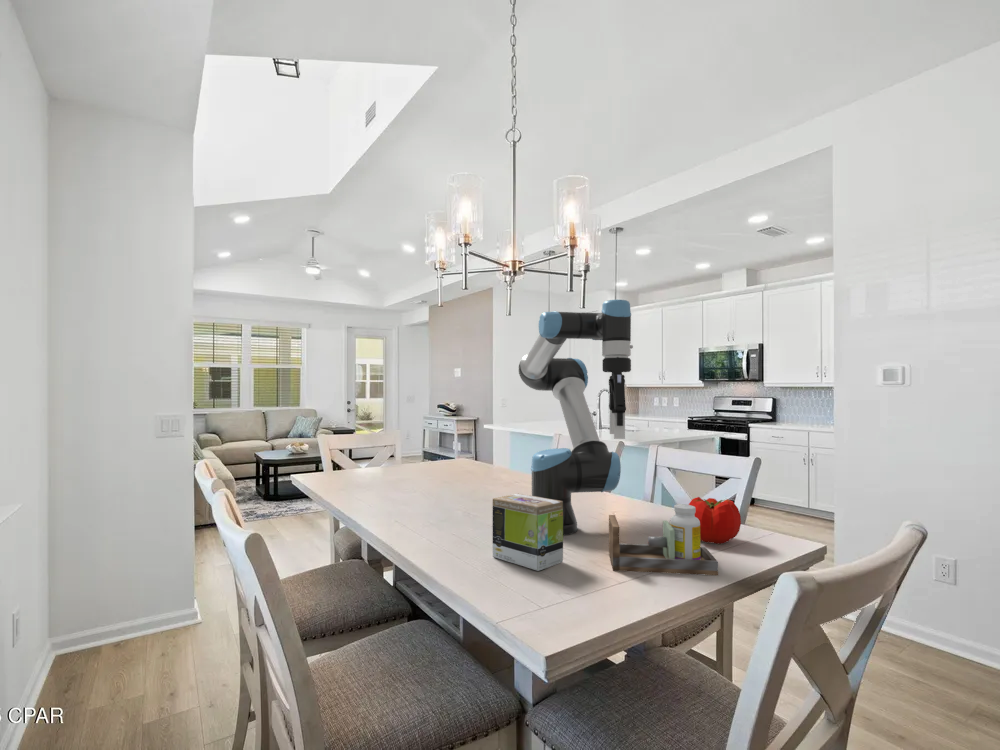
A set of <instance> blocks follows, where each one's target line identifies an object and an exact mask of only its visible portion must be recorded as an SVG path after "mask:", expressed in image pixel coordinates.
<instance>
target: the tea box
mask: <svg viewBox="0 0 1000 750" xmlns="http://www.w3.org/2000/svg"><path fill="white" fill-rule="evenodd" d="M492 557H493V558H496V559H499V560H502V561H505V562H507V563H511V564H514V565H518V566H521V567H524V568H528V569H530V570H534V571H537V572H539V571H542V570H545V569H548V568H551V567H553V566H556V565H558V564H561V563H563V560H564V535H563V501H559V500H553V499H547V498H542V497H536V496H532V495H531V494H530V495H529V494H523V493H515V494H514V493H513V494H509V495H504V496H503V495H502V496H498V497H493V498H492Z"/></svg>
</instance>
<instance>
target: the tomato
mask: <svg viewBox="0 0 1000 750" xmlns="http://www.w3.org/2000/svg"><path fill="white" fill-rule="evenodd" d="M688 505H692V506H694V507H695V510H696V512H695V517H696V518H698V519H699V521H700V542H701V541H702V542H704V543H705V542H706V543H707V544H716V545H721V544H723V545H724V544H725V543H728V542H729V541H730V540H732V539H734V538H736V537H737V535H738V534H739V532H740V530H741V527H742V526H741V525H742V519H741V518H742V517H741V513H740V509H739V508H738V507H737V504H735V502H734V501H732V500H731V499H720V500H717V499H716V498H712V497H708V498H707V499H705V498H701V497H699V496H697V497H694V498H692V499H691V500H690V502H689V503H688Z"/></svg>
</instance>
